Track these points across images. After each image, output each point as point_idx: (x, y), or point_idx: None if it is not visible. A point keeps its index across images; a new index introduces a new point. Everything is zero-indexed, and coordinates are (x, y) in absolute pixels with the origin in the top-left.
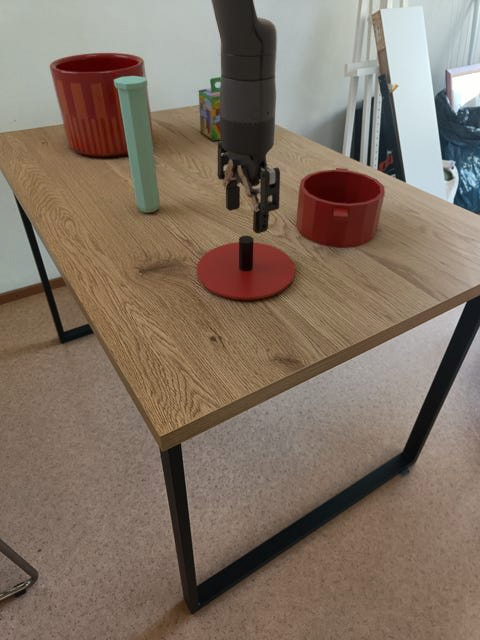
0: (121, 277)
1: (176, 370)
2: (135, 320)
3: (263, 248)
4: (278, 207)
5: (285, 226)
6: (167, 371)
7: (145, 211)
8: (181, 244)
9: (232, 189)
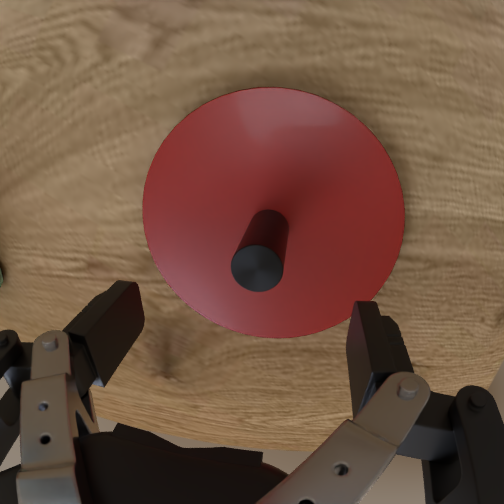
0: (172, 399)
1: None
2: (289, 426)
3: (207, 130)
4: (491, 399)
5: (123, 11)
6: None
7: (1, 283)
8: (99, 282)
9: (99, 368)
